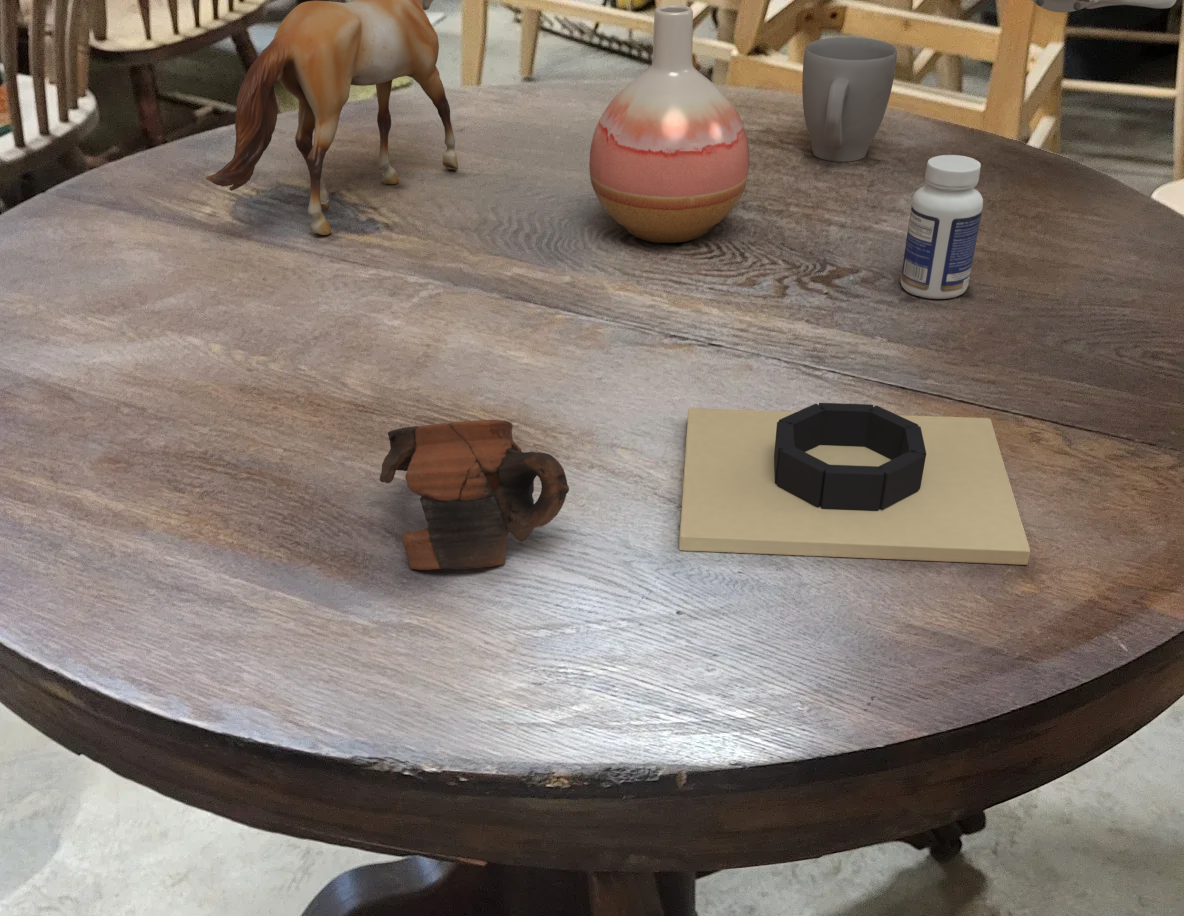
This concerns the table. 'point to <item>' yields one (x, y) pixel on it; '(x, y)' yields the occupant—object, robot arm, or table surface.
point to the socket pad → (848, 486)
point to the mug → (846, 94)
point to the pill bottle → (943, 229)
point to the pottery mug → (472, 491)
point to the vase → (669, 144)
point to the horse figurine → (335, 83)
